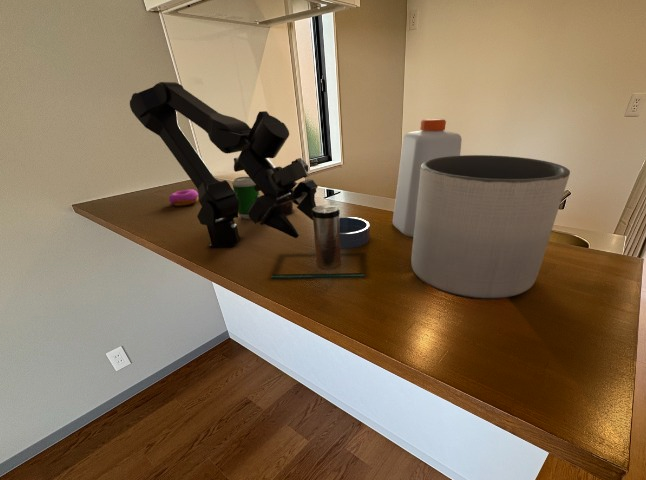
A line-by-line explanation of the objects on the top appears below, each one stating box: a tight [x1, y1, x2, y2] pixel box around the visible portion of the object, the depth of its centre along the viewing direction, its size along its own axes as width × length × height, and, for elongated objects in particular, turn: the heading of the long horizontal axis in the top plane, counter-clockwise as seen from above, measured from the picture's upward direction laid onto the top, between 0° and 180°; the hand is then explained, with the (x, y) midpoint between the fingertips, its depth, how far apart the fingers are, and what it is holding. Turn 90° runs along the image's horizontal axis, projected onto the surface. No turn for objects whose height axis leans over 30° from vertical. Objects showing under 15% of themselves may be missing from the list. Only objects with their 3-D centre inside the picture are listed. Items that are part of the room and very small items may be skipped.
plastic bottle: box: [392, 118, 463, 238], centre depth 86 cm, size 15×15×28 cm
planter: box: [410, 154, 571, 301], centre depth 64 cm, size 25×25×22 cm
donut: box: [168, 188, 199, 207], centre depth 119 cm, size 10×10×5 cm
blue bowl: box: [339, 216, 370, 250], centre depth 85 cm, size 13×13×4 cm
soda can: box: [231, 176, 260, 220], centre depth 103 cm, size 8×8×12 cm
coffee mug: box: [282, 187, 294, 216], centre depth 108 cm, size 12×9×10 cm
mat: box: [271, 272, 365, 280], centre depth 74 cm, size 20×12×1 cm, turn 90°
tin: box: [312, 204, 342, 271], centre depth 70 cm, size 6×6×13 cm
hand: (309, 230), depth 71 cm, fingers open, 9 cm apart
